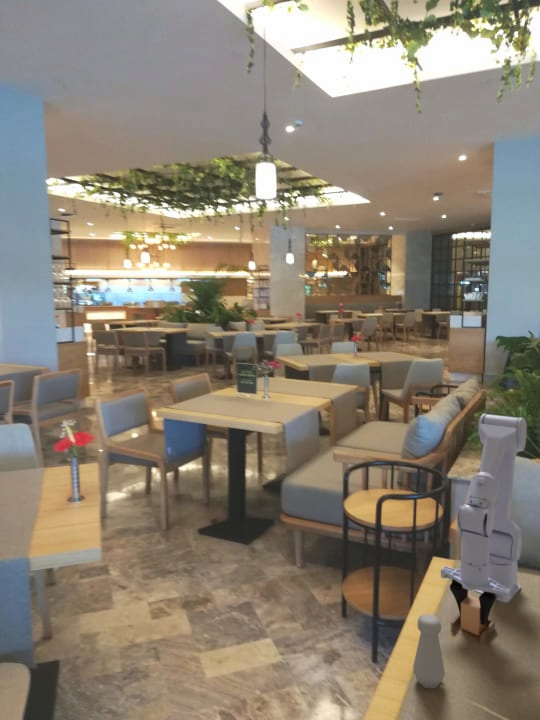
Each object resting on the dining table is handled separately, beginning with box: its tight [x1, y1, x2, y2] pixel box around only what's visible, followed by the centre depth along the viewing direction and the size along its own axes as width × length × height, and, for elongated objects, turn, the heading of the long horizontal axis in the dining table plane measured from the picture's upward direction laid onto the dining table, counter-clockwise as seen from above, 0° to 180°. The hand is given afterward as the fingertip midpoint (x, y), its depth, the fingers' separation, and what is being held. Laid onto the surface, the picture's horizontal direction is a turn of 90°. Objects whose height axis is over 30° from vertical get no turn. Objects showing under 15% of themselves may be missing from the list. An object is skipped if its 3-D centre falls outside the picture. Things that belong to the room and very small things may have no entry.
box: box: [450, 612, 496, 644], centre depth 116 cm, size 6×7×2 cm
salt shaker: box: [412, 613, 446, 690], centre depth 101 cm, size 6×6×13 cm
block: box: [461, 594, 486, 636], centre depth 116 cm, size 4×4×6 cm
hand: (473, 618), depth 116 cm, fingers closed on block, 4 cm apart
